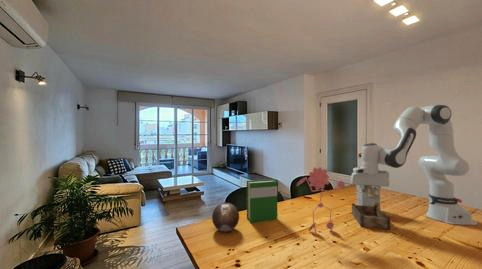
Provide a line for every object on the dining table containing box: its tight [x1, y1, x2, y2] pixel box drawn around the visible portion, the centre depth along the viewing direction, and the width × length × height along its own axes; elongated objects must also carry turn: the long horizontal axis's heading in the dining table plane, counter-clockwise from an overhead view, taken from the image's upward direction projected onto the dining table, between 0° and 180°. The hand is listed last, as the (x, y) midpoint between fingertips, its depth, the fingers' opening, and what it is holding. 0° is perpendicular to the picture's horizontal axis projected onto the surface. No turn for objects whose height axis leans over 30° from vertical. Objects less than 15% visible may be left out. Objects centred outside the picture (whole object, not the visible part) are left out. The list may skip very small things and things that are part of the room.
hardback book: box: [246, 178, 278, 224], centre depth 131 cm, size 18×7×24 cm, turn 105°
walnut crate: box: [351, 202, 391, 231], centre depth 127 cm, size 15×21×7 cm
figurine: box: [295, 166, 346, 236], centre depth 117 cm, size 15×26×35 cm, turn 96°
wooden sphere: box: [211, 202, 240, 232], centre depth 116 cm, size 15×15×15 cm
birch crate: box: [361, 185, 379, 199], centre depth 127 cm, size 6×12×5 cm, turn 165°
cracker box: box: [356, 185, 381, 210], centre depth 144 cm, size 14×6×21 cm, turn 100°
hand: (369, 192), depth 127 cm, fingers closed on birch crate, 6 cm apart
